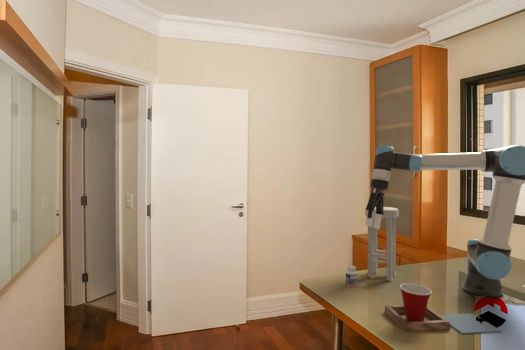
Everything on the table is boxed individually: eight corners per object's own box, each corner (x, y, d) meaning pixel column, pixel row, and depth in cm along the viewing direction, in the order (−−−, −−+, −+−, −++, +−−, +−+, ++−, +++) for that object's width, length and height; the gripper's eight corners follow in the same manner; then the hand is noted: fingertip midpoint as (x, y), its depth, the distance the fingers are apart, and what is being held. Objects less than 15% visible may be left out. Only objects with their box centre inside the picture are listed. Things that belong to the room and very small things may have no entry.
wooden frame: (424, 310, 136) (424, 303, 136) (450, 328, 120) (450, 321, 120) (384, 312, 135) (384, 305, 135) (405, 331, 119) (405, 324, 119)
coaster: (472, 314, 131) (472, 313, 131) (501, 331, 118) (501, 330, 117) (437, 316, 130) (437, 315, 130) (461, 334, 116) (461, 332, 116)
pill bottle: (344, 283, 169) (344, 265, 169) (354, 283, 169) (354, 264, 169) (348, 287, 164) (347, 268, 163) (358, 286, 164) (358, 267, 164)
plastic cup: (435, 328, 121) (435, 293, 121) (402, 325, 123) (402, 291, 123) (427, 315, 132) (427, 283, 131) (397, 313, 134) (397, 281, 134)
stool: (370, 270, 190) (370, 206, 189) (400, 274, 182) (400, 207, 181) (362, 278, 176) (362, 209, 176) (395, 283, 168) (394, 210, 168)
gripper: (378, 184, 168) (371, 227, 166) (364, 173, 148) (356, 223, 145) (394, 185, 164) (387, 230, 162) (382, 175, 144) (374, 226, 141)
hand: (372, 227), depth 154 cm, fingers open, 13 cm apart
